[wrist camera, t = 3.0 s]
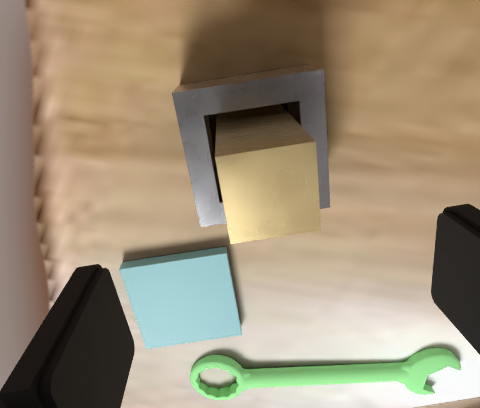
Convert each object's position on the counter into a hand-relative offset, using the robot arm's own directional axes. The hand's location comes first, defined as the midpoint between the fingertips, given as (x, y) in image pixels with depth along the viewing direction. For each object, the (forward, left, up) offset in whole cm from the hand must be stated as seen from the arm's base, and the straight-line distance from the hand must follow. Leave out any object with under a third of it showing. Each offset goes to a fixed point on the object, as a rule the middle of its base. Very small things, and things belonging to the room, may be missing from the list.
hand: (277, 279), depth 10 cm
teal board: (+12, -6, -15) cm, 20 cm away
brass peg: (0, +1, -15) cm, 15 cm away
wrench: (+23, +5, -16) cm, 28 cm away
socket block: (0, +1, -15) cm, 15 cm away
